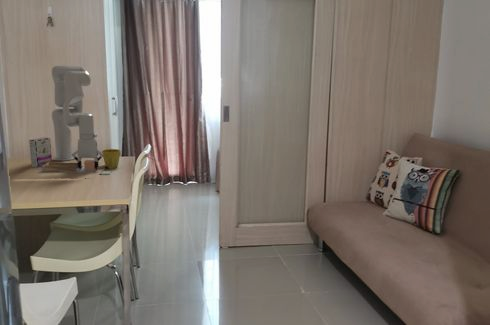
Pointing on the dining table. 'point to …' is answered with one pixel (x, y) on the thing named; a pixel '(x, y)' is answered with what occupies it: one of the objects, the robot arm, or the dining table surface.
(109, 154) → the plant pot
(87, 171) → the deck
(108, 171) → the pad
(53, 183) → the dining table surface
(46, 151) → the candy bar box
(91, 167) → the cube
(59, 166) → the frame
